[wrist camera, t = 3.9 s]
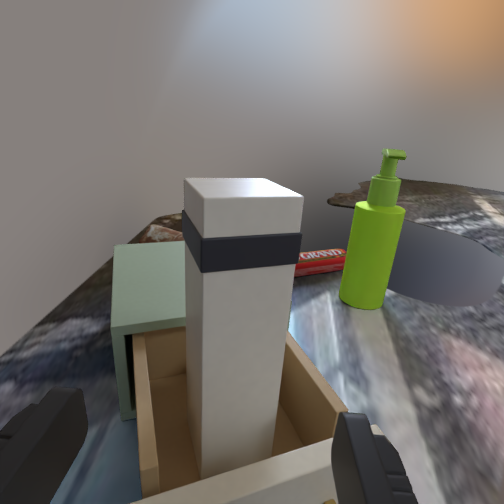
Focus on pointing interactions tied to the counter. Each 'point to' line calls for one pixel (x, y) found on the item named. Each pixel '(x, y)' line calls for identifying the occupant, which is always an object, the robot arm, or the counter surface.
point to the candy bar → (320, 262)
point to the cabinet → (144, 304)
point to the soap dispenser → (374, 238)
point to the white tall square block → (236, 314)
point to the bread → (160, 235)
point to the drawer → (244, 478)
